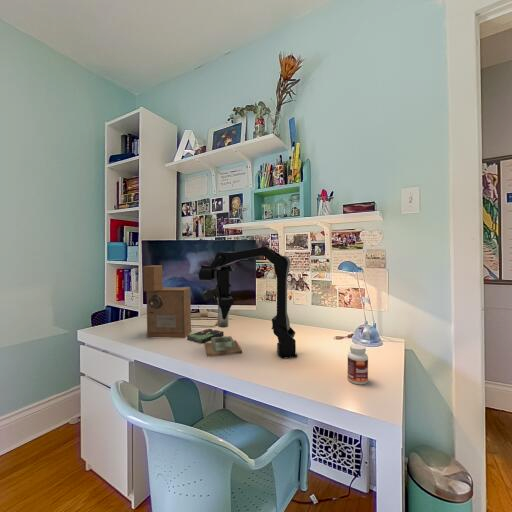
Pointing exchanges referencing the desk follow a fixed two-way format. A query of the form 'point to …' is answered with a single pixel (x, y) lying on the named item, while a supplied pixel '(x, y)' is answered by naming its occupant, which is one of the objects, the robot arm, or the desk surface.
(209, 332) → the disk drive
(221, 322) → the peg
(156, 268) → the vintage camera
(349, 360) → the pill bottle
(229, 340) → the dock board
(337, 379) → the desk surface
